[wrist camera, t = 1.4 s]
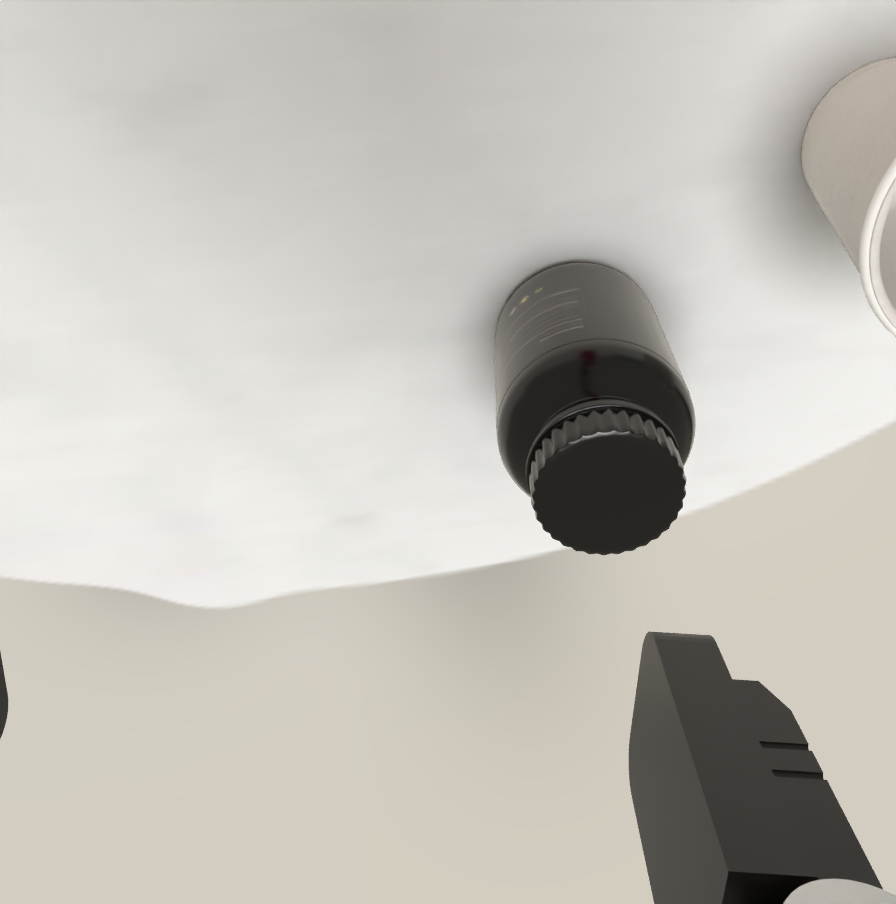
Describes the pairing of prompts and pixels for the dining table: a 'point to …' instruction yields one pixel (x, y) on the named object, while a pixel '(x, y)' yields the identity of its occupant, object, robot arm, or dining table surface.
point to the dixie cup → (859, 175)
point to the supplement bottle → (591, 408)
